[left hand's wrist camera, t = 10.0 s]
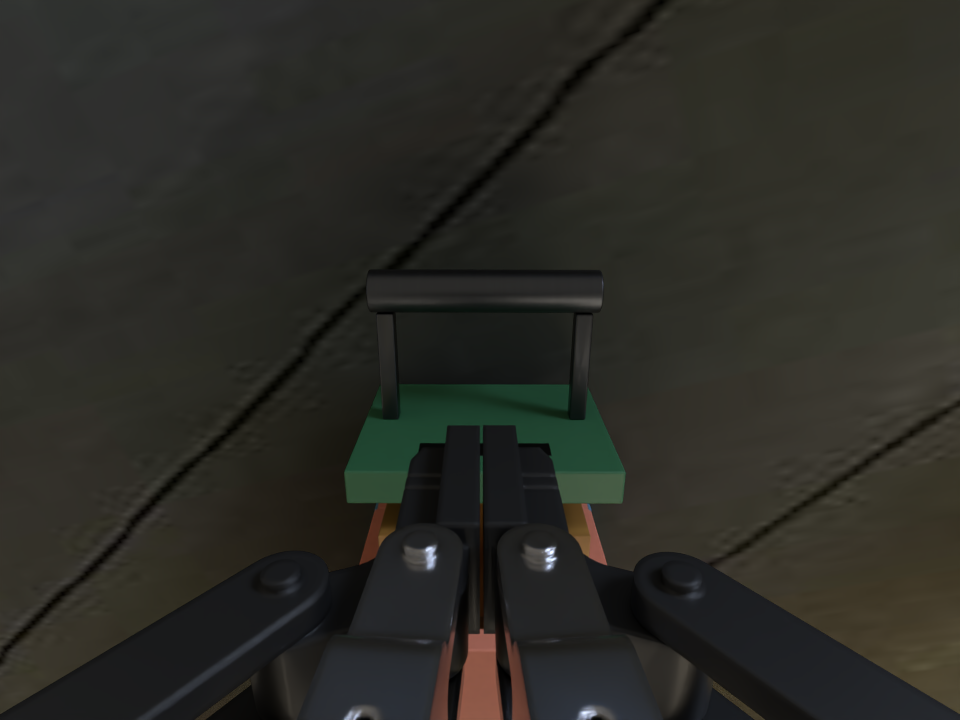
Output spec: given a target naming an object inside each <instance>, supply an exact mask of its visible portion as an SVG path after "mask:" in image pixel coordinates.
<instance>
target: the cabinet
mask: <svg viewBox="0 0 960 720" xmlns="http://www.w3.org/2000/svg"><path fill="white" fill-rule="evenodd" d="M386 504H387V503H376V506H375V511H374V515H373V518H372V522H371V525H370V529H369V532H368V536H367V539H366V543H365V546H364V550H363V553H362V557H361V560H360V564H363V563H365V562H368V561H370V560H372V559H373V558H375V557H376V554H377V552H378V549H379V543H378V535H379V531H380V527H381V523H382V519H383V515H384V512H385V508H386ZM582 508H583V511H584V515H585V518H586V522H587V525H588V529H589V533H590V536H591V540H590V552H589V558H591V559H593V560H595V561H597V562H599V563H602V564H604V565H607V563H606V559H605V556H604V553H603V549H602V546H601V543H600V539H599V536H598V533H597V530H596V526H595V523H594V520H593V516H592V513H591V507H590V504H582ZM360 564H359V565H360ZM460 720H500V711H499V702H498V694H497V685H496V643H495V634H484V629H480V634H469V636H468V656H467V659H466V662H465V664H464V685H463V694H462V702H461V711H460Z"/></svg>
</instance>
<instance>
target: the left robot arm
mask: <svg viewBox="0 0 960 720" xmlns="http://www.w3.org/2000/svg"><path fill="white" fill-rule="evenodd" d="M483 611H484V634H495V643H496V685H497V694H498V702H499V711H500V720H754V719H753V718H751V717H750V716H749V715H747V714H746V713H745V712H744V711H742V710H741V709H740V708H738V707H737V706H736V705H734V704H733V703H732V702H730V701H729V700H728V699H727V698H725V697H724V696H723V695H721V694H720V693H719V692H717V691H716V690H715V689H714V688H712V686H713V681H715V682H716V683H718V684H719V685H720V686H722V687H723V688H724V689H726V690H727V691H728V692H730V693H731V694H732V695H734V696H735V697H736V698H738V699H739V700H740V701H742V702H743V703H744V704H746V705H747V706H748V707H750V708H751V709H752V710H754V711H755V712H756V713H758V714H759V715H760V716H762V717H763V718H764V719H766V720H960V714H958V713H957V712H955V711H953V710H952V709H950V708H948V707H947V706H945V705H943V704H942V703H940V702H938V701H936V700H935V699H933V698H931V697H930V696H928V695H926V694H925V693H923V692H921V691H920V690H918V689H916V688H915V687H913V686H911V685H910V684H908V683H906V682H905V681H903V680H901V679H900V678H898V677H896V676H895V675H893V674H891V673H889V672H888V671H886V670H884V669H883V668H881V667H879V666H878V665H876V664H874V663H873V662H871V661H869V660H868V659H866V658H864V657H863V656H861V655H859V654H858V653H856V652H854V651H853V650H851V649H849V648H848V647H846V646H844V645H843V644H841V643H839V642H837V641H836V640H834V639H832V638H831V637H829V636H827V635H826V634H824V633H822V632H821V631H819V630H817V629H816V628H814V627H812V626H811V625H809V624H807V623H806V622H804V621H802V620H801V619H799V618H797V617H796V616H794V615H792V614H791V613H789V612H787V611H785V610H784V609H782V608H780V607H779V606H777V605H775V604H774V603H772V602H770V601H769V600H767V599H765V598H764V597H762V596H760V595H759V594H757V593H755V592H754V591H752V590H750V589H749V588H747V587H745V586H744V585H742V584H740V583H739V582H737V581H735V580H733V579H732V578H730V577H728V576H727V575H725V574H723V573H722V572H720V571H718V570H717V569H715V568H713V567H712V566H710V565H708V564H707V563H705V562H703V561H701V560H699V559H697V558H694V557H692V556H688V555H685V554H681V553H674V552H659V553H654V554H651V555H648V556H646V557H644V558H642V559H641V560H640V561H639V562H638V563H637V565H636V566H635V569H634V572H632V571H628V570H624V569H620V568H615V567H611V566H608V565H604V564H602V563H599V562H597V561H595V560H593V559H591V558H589V557H588V556H586V555H585V554H583V552H582V549H581V547H580V545H579V543H578V541H577V540H576V539H575V538H574V537H573V536H572V535H571V534H569V530H568V526H567V521H566V517H565V513H564V508H563V504H562V500H561V495H560V491H559V489H558V482H557V478H556V473H555V469H554V465H553V460H552V459H551V458H550V457H549V456H548V455H547V454H546V453H545V452H544V451H543V450H542V449H541V448H540V447H518V440H517V433H516V426H515V425H483ZM469 634H480V425H447V432H446V441H445V447H423V448H422V449H421V450H420V451H419V452H418V453H417V454H416V455H415V456H414V457H413V458H412V459H411V460H410V465H409V469H408V474H407V479H406V483H405V490H404V492H403V497H402V501H401V506H400V510H399V515H398V520H397V524H396V529H395V531H394V532H392V533H391V534H389V535H388V536H387V537H386V538H385V539H384V540H383V541H382V543H381V545H380V547H379V549H378V552H377V554H376V557H375V558H373V559H372V560H370V561H368V562H365V563H363V564H360V565H357V566H353V567H350V568H345V569H341V570H337V571H333V572H328V567H327V565H326V563H325V562H324V561H323V560H322V559H321V558H320V557H319V556H317V555H315V554H312V553H309V552H304V551H286V552H280V553H276V554H273V555H270V556H267V557H265V558H263V559H261V560H259V561H257V562H255V563H253V564H252V565H250V566H248V567H247V568H245V569H243V570H242V571H240V572H238V573H237V574H235V575H233V576H232V577H230V578H228V579H227V580H225V581H223V582H222V583H220V584H218V585H216V586H215V587H213V588H211V589H210V590H208V591H206V592H205V593H203V594H201V595H200V596H198V597H196V598H195V599H193V600H191V601H190V602H188V603H186V604H185V605H183V606H181V607H180V608H178V609H176V610H175V611H173V612H171V613H170V614H168V615H166V616H164V617H163V618H161V619H159V620H158V621H156V622H154V623H153V624H151V625H149V626H148V627H146V628H144V629H143V630H141V631H139V632H138V633H136V634H134V635H133V636H131V637H129V638H128V639H126V640H124V641H123V642H121V643H119V644H117V645H116V646H114V647H112V648H111V649H109V650H107V651H106V652H104V653H102V654H101V655H99V656H97V657H96V658H94V659H92V660H91V661H89V662H87V663H86V664H84V665H82V666H81V667H79V668H77V669H76V670H74V671H72V672H71V673H69V674H67V675H65V676H64V677H62V678H60V679H59V680H57V681H55V682H54V683H52V684H50V685H49V686H47V687H45V688H44V689H42V690H40V691H39V692H37V693H35V694H34V695H32V696H30V697H29V698H27V699H25V700H24V701H22V702H20V703H19V704H17V705H15V706H13V707H12V708H10V709H8V710H7V711H5V712H3V713H2V714H0V720H195V719H196V718H197V717H198V716H200V715H201V714H202V713H204V712H205V711H206V710H208V709H209V708H210V707H212V706H213V705H214V704H216V703H217V702H218V701H220V700H221V699H222V698H224V697H225V696H226V695H228V694H229V693H230V692H232V691H233V690H234V689H236V688H237V687H238V686H240V685H241V684H242V683H244V682H245V681H246V680H248V679H249V678H250V680H251V685H250V686H249V687H248V688H246V689H245V690H244V691H243V692H241V693H240V694H239V695H237V696H236V697H235V698H233V699H232V700H231V701H230V702H228V703H227V704H226V705H224V706H223V707H222V708H220V709H219V710H218V711H216V712H215V713H214V714H213V715H211V716H210V717H209V718H207V719H206V720H460V711H461V702H462V694H463V685H464V664H465V662H466V659H467V656H468V636H469Z"/></svg>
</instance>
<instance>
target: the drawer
mask: <svg viewBox="0 0 960 720" xmlns="http://www.w3.org/2000/svg"><path fill="white" fill-rule="evenodd" d="M603 296H604V282H603V276H602V272H601V271H600V270H369V271H368V274H367V280H366V297H367V305H368V308H369V311H370V312H377V314H376V321H377V337H378V352H379V368H380V383H381V385H380V386H379V389H378V391H377V394H376V396H375V398H374V401H373V403H372V406H371V408H370V411H369V413H368V415H367V418H366V420H365V423H364V425H363V427H362V430H361V432H360V435H359V437H358V440H357V442H356V444H355V447H354V449H353V452H352V454H351V456H350V459H349V461H348V464H347V466H346V469H345V471H344V478H345V488H346V499H347V503H387V504H386V508H385V512H384V515H383V519H382V523H381V527H380V531H379V535H378V543H379V547H380V545H381V543H382V541H383V540H384V539H385V538H386V537H387V536H388V535H389V534H391V533H392V532H394V531H395V529H396V524H397V520H398V515H399V510H400V506H401V501H402V497H403V492H404V490H405V483H406V479H407V474H408V469H409V465H410V460H411V459H412V458H413V457H414V456H415V455H416V454H417V453H418V452H419V451H420V450H421V449H422V448H423V447H445V441H446V432H447V425H480V629H484V611H483V425H515V426H516V433H517V440H518V447H540V448H541V449H542V450H543V451H544V452H545V453H546V454H547V455H548V456H549V457H550V458H551V459H552V460H553V465H554V469H555V473H556V478H557V482H558V489H559V491H560V495H561V500H562V504H563V508H564V513H565V517H566V521H567V526H568V530H569V534H571V535H572V536H573V537H574V538H575V539H576V540H577V541H578V543H579V545H580V547H581V549H582V552H583V554H585V555H586V556H588V557H589V552H590V540H591V536H590V533H589V529H588V525H587V522H586V518H585V515H584V511H583V508H582V504H621V503H622V502H623V493H624V484H625V475H626V472H625V470H624V468H623V465H622V463H621V461H620V459H619V456H618V454H617V452H616V450H615V447H614V445H613V443H612V441H611V438H610V436H609V434H608V432H607V429H606V427H605V425H604V423H603V420H602V418H601V416H600V414H599V411H598V409H597V407H596V404H595V402H594V400H593V398H592V395H591V393H590V391H589V389H588V377H589V364H590V351H591V338H592V325H593V314H592V313H598V312H600V310H601V308H602V304H603ZM395 312H482V313H574V317H573V333H572V349H571V365H570V380H569V385H520V384H399V371H398V352H397V333H396V313H395Z"/></svg>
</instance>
